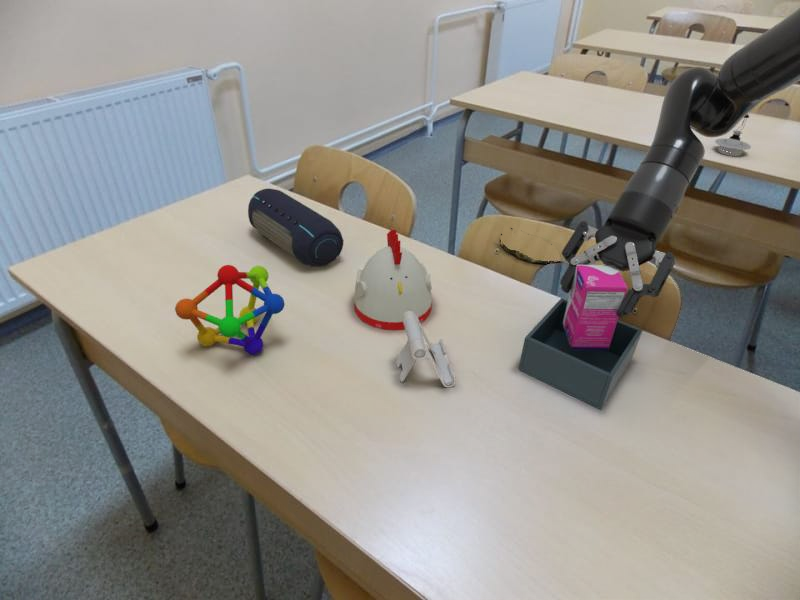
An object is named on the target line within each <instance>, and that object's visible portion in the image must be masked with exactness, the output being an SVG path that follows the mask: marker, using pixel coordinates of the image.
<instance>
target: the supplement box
mask: <svg viewBox="0 0 800 600" xmlns="http://www.w3.org/2000/svg"><path fill="white" fill-rule="evenodd" d="M627 292H628V286H627V283H626V282H625V280H624V278H623V276H622V274H621V273H620V270H618V269H617V267H616V266H615V265H606V264H592V265H577V266H576V270H575V274H574V278H573V283H572V287H571V290H570V291H569V296H568V299H567V300H568V303H567V307H566V312H565V316H564V320H563V324H562V325H563V328H564V330H565V332H566V335H567V338H568V341H569V344H570V348H571V349H593V350H608V349H609V346H610V343H611V339H612V336H613V333H614V330H615V327H616V324H617V320H619V318H620V317H619V316H617V314H616V313H617V310H618V308H619V307H620V305H621V303H622V301H623V300H624V298H625V296H626V294H627Z"/></svg>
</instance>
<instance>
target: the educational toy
mask: <svg viewBox="0 0 800 600" xmlns="http://www.w3.org/2000/svg"><path fill="white" fill-rule="evenodd" d="M216 276H217V279H216V280H215V281H214V282H213V283H211V284H210V285H209V286H208V287H206V288H205V289H204V290H203V291H201V292H200V293H198V294H197V295H196V296H195V297H194V298H193V299H191V298H182V299H180V300H179V301H177V302H176V304H175V307H174V311H175V313H176V316H177V317H178V318H180V319H181V320H189V321H191V323H192V324H193V326H194V327H195V328H196V330H197V331H198V332H197V336H196V339H197V342H198V343H199V344H200V345H201V346H203V347H211V346H213V345H215V344H216V343H217V342H218V343H222V344H228V345H233V346H239V347H243V350H244V352H246V353H247V354H248V355H250V356H251V355H252V356H255V355H258V354H260V353H261V352H262V350H263V349H264V340H263V339H262V336H263V334H264V332H265V330H266V328H267V326H268V324H269V322H270V321H271V319H272V317H273V315H277V314H280V313H281V312H282V311H283V310H284V308H285V305H286V304H285V299H284V297H282V296H281V295H280V294H278V293H273V292H272V290H271V288H270V287H269V284H268V283H267V282H268V279H269V272H268V269H266V268H265V267H264V266H261V265H255V266H253V267H252V268H251V269H250V270H249V271H239V270H238V269H237V267H236V266H234V265H231V264H225V265H223V266H221V267H220V268H219V269H218V271H217V275H216ZM245 279H246V280H248V279H249V280H250V282H251V283H253V284H252V285H251V284H250V283H248V282H247V281H245ZM233 285H237V286H238V287H240V288H241V289H243V290H245V291H246V292H248V293H250V296H249V300H248V305H247V306H244V307H243V308H242V309H240V312H239V315H238V316H237V317H236V316H234V296H233V295H234V293H233V290H234V289H233ZM222 286H224V295H225V298H224V299H225V300H224V301H225V302H224V303H225V316H224V317H223V318H219V317H216V316H214V315H211V314H209V313H206V312H204V311H202V310H199V309H198V305H199V304H201V303H202V302H203V301H204V300H206V299H207V298H208V297H209V296H210V295H212V294H213V293H214V292H216V291H217V290H218V289H219V288H220V287H222ZM260 287H261V290H262V291H263V292H262V291H261V290H259V289H260ZM257 299H258V300H260V301H262V302H263V305H261V306H259V307H258V308H256V307H255V306H256V302H257ZM263 314H264V315H263ZM261 315H263V317H262V319H261V322H260V324H259V325H258V327H257V329H256V330H255V323H256V322H257V321H258V319H259V316H261ZM200 319H201V320H202V321H206V322H207V323H210V324H212V325H215V326H218V327H216V328H213V327H211V326H204V324H203V323H202V322H201V320H200ZM243 324H245V325H246V326H247V333H248V335H247V334H246V333H244V332H243V331H242V325H243ZM220 334H221V335H220ZM236 337H237V338H236Z"/></svg>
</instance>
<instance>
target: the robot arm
mask: <svg viewBox="0 0 800 600" xmlns="http://www.w3.org/2000/svg"><path fill="white" fill-rule="evenodd" d="M799 82H800V7H799V8H797V9H796V10H795V11H794V12H792V13H791V14H789V15H788V16H787V17H786V18H784V19H782V20H781V21H780V22H778V23H776V24H775V25H773V26H772V27H771V28H769V29H768V30H766V31H765V32H763V33H762V34H761V35H758V36H757V37H756V38H754V39H753V40H752V41H750V42H748V43H747V44H745V45H744V46H743V47H741V48H740V49H738V50H737V51H735V52H734V53H733V54H732V55H730V56H729V57H727V58H726V59H725V61H724V62H723V63H722V65H721V67H720V69H719V71H718V75H717V74H716V73H714V72H713V71H711V70H710V69H708V68H705V67H703V66H692V67H690V68H687V69H685V70H684V71H682V72H681V73H679V74H678V75H677V76H676V77H675V78H674V79H673V81H672V82H671V83H670V85H669V87H668V88H667V90H666V92H665V95H664V97H663V100H662V104H661V109H660V114H659V117H658V122H657V126H656V129H655V133H654V137H653V140H652V142H651V145H650V147H649V148H648V150H647V152H646V154H645V156H644V157H643V159H642V161H641V162H640V164H639V166H638V167H637V169H636V170H635V172H634V173H633V174H632V176H631V177H630V178H629V180H628V181H627V183H626V185H625V187H624V189H623V190H622V192H621V194H620V196H619V197H618V199H617V201H616V203H615V205H614V206H613V208H612V210H611V212H610V213H609V215H608V217H607V219H606V221H605V223H604V224H603V225H602V226H601V227H600V228H599V229H598V228H596V227H593V226H591V225H589V224H588V222H587V221H586V220H582V221H580V222H579V223H578V225H577V226H576V228H575V230H574V232H573V233H572V235H571V236H570V238H569V240H568V241H567V242H566V244H565V246H564V247H563V249H562V251H561V255H562V257H563V259H564V261H566V262H567V264H568V267H567V268H566V270H565V272H564V274H563V275H562V277H561V279H560V281H559V284H560V286H561V291H562V292H563V293H565V294H570V291H571V287H572V283H573V278H574V274H575V270H576V266H577V265H596V264H597V263H599V262H602V265H615V266H616V267H617V269H618V271H621V272H627V271H629V275H630V279H631V284H632V288H631V289H630V288H629V289H628V290H627V292H626V295H625V298H624V300H623V301H622V303H621V305H620V307H619V308H618V310H617V313H616V314H617V316H619V317H618V318H621V319H623V318H624V317H625V316H627V317H629V316H630V315H631V314H632V313H633V311H634V309H635V308H636V306H637V304H638V302H639V301H640V299H641V298H642V297H645V296H646V297H648V296H649V297H651V298H657V297H658V296H659V295H660V294H661V292H662V290H663V287H664V286H665V283H666V281H667V279H668V278H669V276H670V273H671V272H672V270H673V268H674V266H675V264H676V262H675V261H676V256H675V254H674V252H671V251H668V252H663V251H659V250H657V249H656V248H657V245H658V244H659V242H660V240H661V238H662V237H663V234H664V233H665V231H666V230H667V227H668V225H669V224H670V223H671V220H672V218H673V217H674V215H675V214H676V213H677V212H678V209H679V206H680V204H681V202H682V201H683V199H684V196H685V193H686V191H687V188H688V187H689V184H690V183H691V181H692V180H693V178H694V176H695V174H696V173H697V170H698V168H699V167H700V164H701V163H702V161H703V160H704V157H705V154H706V150H705V146H704V144H703V143H702V141H701V140H700V138H699V137H698V136H697V135H696V134H695V133H694V131H695V132H696V133H697V134H699V135H700V136H703V137H706V138H719V137H722V136H725V135H727V134H728V133H729V132H731V131H733V129H734V128H735V127H736V126H737V125H738V124H739V123H740V122H741V121H742V120H744V119H745V118H744V117H745V116H746V115H747V114H748V115H749V114H750V112H751V111H753V110H754V109H755V108H756V107H757V106H759V104H761V103H762V102H763V101H764V100H766V99H768V98H770V97H772V96H774V95H776V94H778V93H779V92H782V91H784V90H785V89H787V88H790V87H792V86H793V85H795V84H797V83H799ZM592 238H595V244H594V245H592V246H590V247H588V248H586V249H584V251H583V252H582V253H579V254H578V252H579V251H580V249H581V247H582V246H583V244H584V243H585V242H588V241H590V239H592ZM653 259H654V260H655V262H654V263H655V267H656V268H657V270H656V271H655V272H654V275H653V277H652V279H651V281H650V283H644V282H643V279H642V278H643V277H642V274H641V268H640V266H642V265H644V264H646V263H648V262H650V261H652V260H653Z"/></svg>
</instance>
